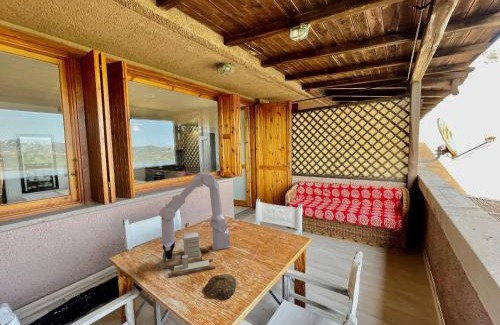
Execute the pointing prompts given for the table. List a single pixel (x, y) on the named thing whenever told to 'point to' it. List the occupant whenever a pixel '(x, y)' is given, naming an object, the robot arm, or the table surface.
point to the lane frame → (194, 269)
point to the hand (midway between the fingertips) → (169, 258)
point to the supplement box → (191, 244)
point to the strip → (190, 265)
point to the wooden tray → (178, 259)
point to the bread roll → (220, 287)
